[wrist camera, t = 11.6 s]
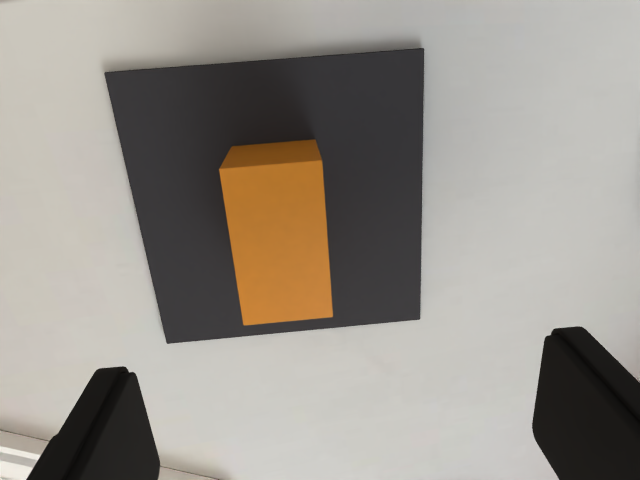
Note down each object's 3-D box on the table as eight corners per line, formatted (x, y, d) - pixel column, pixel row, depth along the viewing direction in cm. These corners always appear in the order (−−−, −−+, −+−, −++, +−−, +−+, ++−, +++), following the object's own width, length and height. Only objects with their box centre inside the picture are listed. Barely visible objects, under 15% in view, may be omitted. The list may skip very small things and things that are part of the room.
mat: (106, 72, 24) (103, 72, 23) (422, 48, 24) (424, 48, 24) (168, 340, 30) (166, 343, 29) (418, 316, 30) (420, 319, 30)
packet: (231, 146, 25) (218, 168, 20) (315, 139, 25) (322, 159, 20) (250, 280, 28) (243, 326, 23) (325, 273, 28) (333, 317, 24)
